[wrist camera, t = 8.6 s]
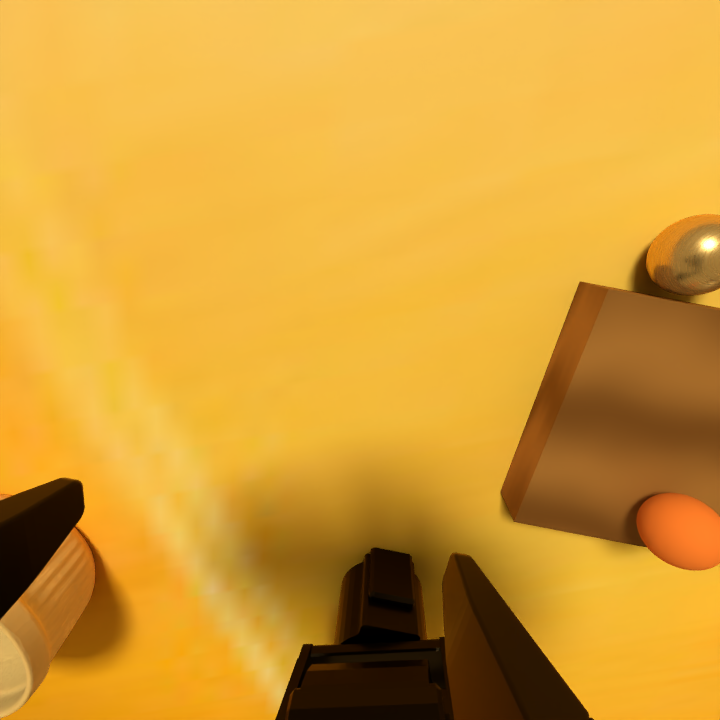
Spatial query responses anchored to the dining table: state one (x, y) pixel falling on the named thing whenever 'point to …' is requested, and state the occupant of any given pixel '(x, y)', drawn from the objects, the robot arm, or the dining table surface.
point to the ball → (680, 531)
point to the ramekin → (43, 620)
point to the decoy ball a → (687, 256)
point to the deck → (621, 415)
